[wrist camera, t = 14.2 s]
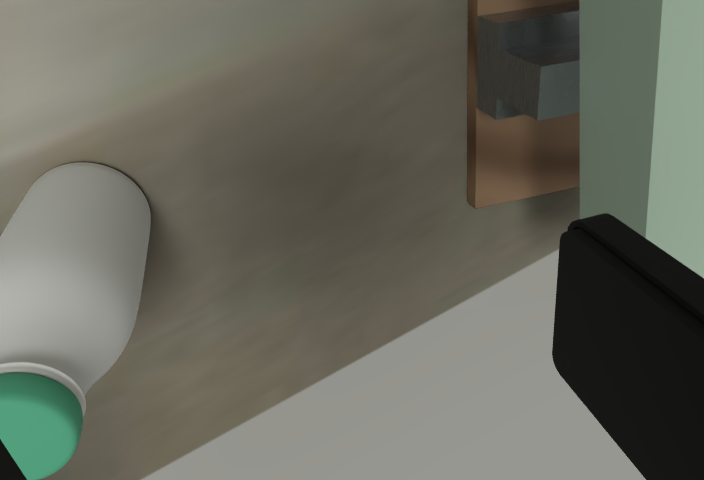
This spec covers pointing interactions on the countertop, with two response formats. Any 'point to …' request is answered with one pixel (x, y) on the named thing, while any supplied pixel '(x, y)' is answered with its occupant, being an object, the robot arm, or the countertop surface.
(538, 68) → the stand
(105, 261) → the milk bottle
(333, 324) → the countertop surface
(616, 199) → the beam
